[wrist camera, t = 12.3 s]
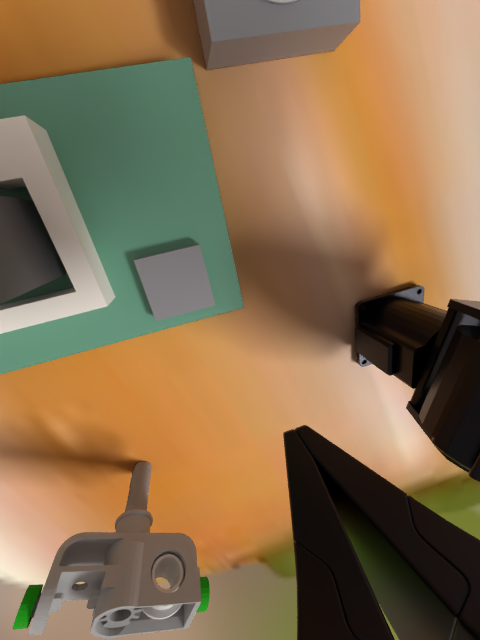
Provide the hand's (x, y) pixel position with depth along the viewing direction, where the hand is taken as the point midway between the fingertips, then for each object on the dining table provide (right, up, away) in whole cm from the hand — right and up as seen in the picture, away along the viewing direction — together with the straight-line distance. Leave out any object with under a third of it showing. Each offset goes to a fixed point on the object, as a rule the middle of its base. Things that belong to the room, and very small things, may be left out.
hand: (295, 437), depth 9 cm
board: (-13, +9, +7) cm, 17 cm away
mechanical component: (-11, -9, +15) cm, 21 cm away
